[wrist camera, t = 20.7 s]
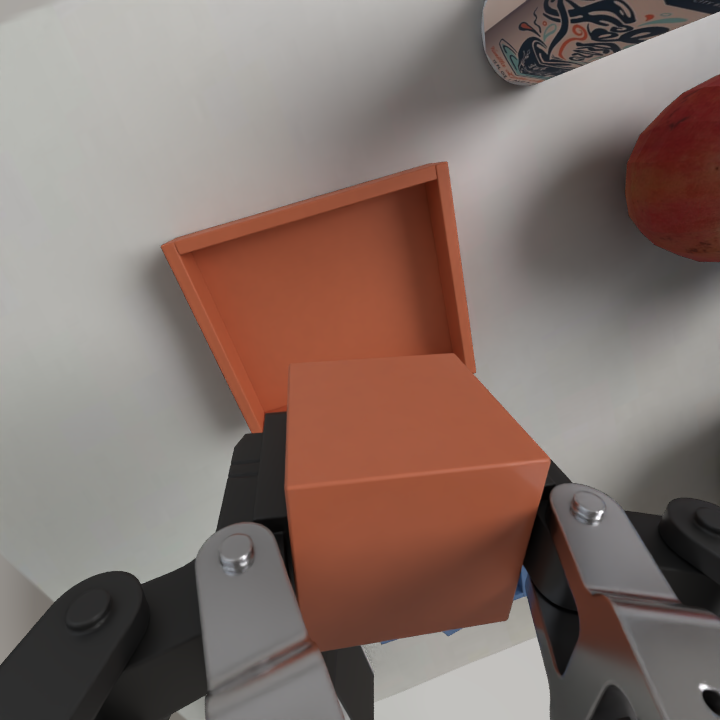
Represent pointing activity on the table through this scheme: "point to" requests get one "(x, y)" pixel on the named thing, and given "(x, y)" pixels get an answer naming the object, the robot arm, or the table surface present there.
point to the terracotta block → (404, 498)
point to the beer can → (574, 31)
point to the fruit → (680, 176)
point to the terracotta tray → (328, 283)
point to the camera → (352, 681)
